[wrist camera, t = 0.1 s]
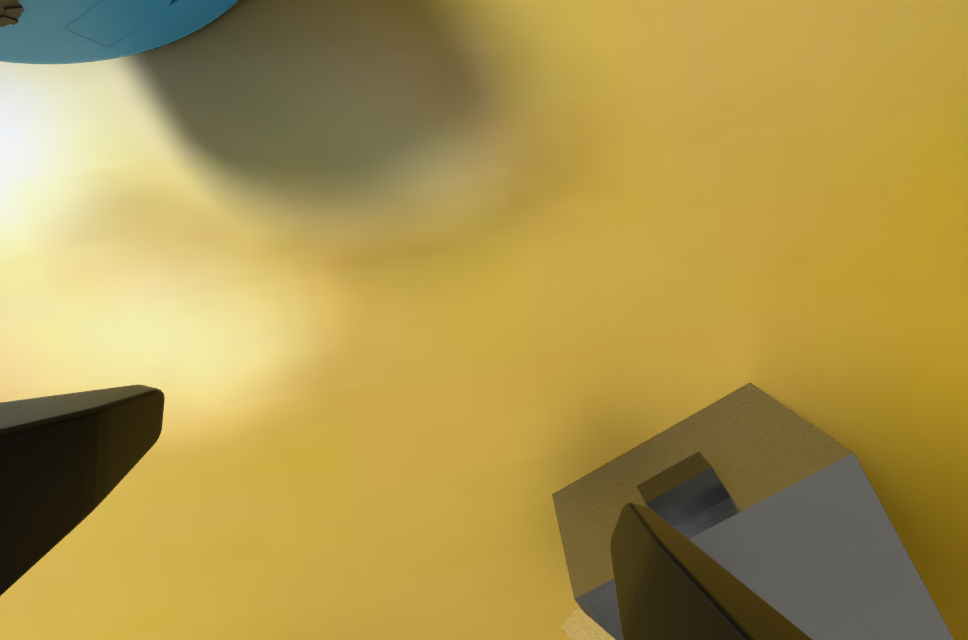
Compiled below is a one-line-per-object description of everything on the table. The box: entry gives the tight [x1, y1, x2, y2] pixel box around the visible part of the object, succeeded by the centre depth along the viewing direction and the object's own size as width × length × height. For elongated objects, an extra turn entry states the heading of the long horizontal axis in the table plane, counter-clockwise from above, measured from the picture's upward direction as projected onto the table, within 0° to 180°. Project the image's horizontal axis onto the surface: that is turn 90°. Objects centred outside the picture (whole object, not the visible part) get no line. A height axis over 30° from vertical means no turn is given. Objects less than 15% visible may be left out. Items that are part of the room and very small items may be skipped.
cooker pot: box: [552, 383, 954, 640], centre depth 22 cm, size 12×17×7 cm
